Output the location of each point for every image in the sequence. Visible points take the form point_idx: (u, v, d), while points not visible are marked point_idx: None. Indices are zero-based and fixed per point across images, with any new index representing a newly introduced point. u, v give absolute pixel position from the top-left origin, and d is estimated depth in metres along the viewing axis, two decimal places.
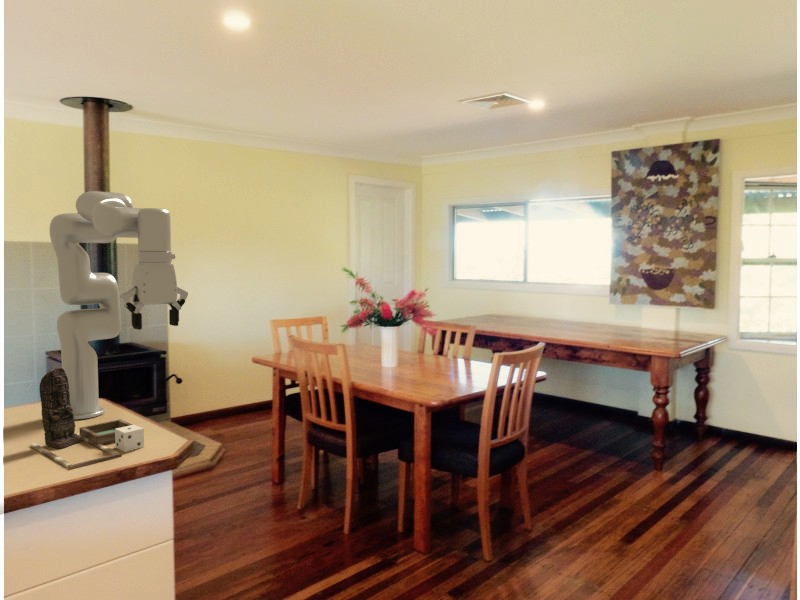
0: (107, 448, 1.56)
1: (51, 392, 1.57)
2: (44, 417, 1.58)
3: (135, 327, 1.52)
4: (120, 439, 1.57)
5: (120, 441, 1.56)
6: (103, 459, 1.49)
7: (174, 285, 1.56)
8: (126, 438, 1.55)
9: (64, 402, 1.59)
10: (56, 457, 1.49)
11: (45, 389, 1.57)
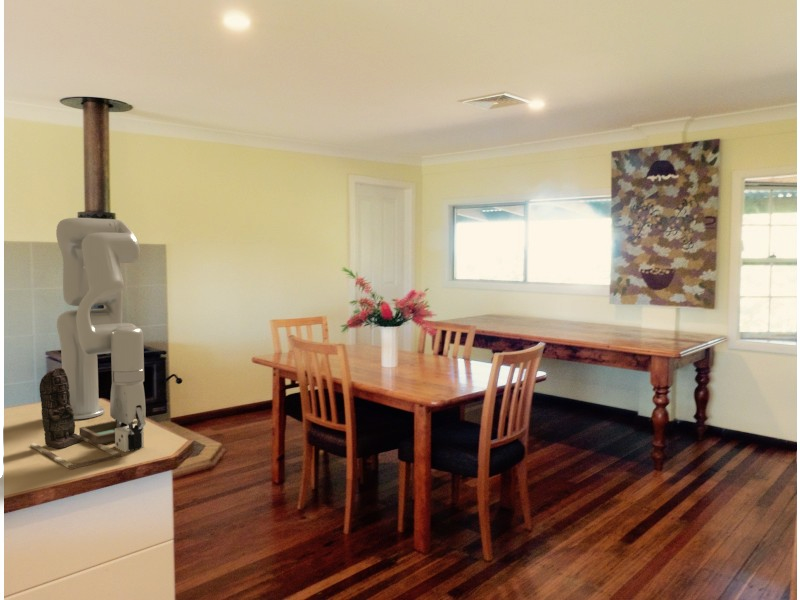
0: (107, 448, 1.56)
1: (51, 392, 1.57)
2: (44, 417, 1.58)
3: (134, 447, 1.56)
4: (120, 439, 1.57)
5: (120, 441, 1.56)
6: (103, 459, 1.49)
7: None
8: (125, 438, 1.55)
9: (64, 402, 1.59)
10: (56, 457, 1.49)
11: (45, 389, 1.57)
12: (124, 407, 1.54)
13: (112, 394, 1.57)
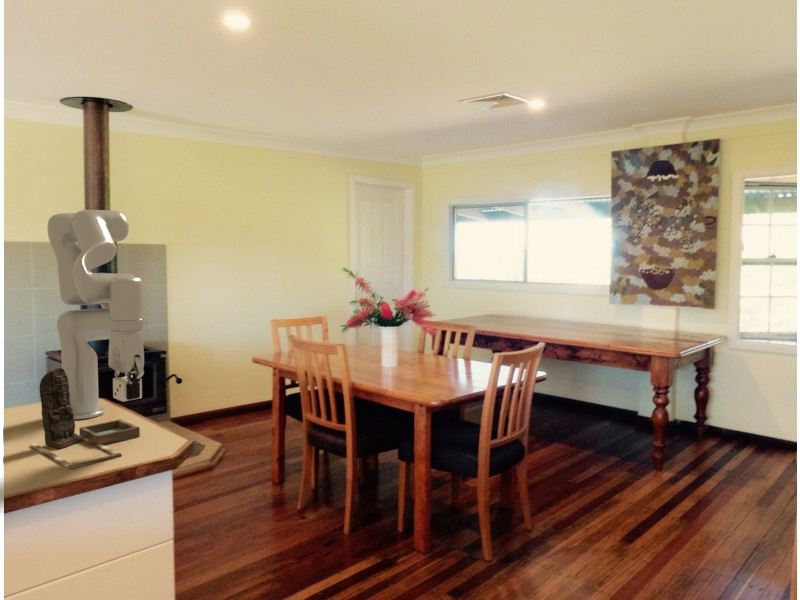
0: (107, 448, 1.56)
1: (51, 392, 1.57)
2: (44, 417, 1.58)
3: (132, 397, 1.56)
4: (118, 389, 1.56)
5: (118, 390, 1.56)
6: (103, 459, 1.49)
7: None
8: (124, 387, 1.55)
9: (64, 402, 1.59)
10: (56, 457, 1.49)
11: (45, 389, 1.57)
12: (122, 356, 1.53)
13: (110, 343, 1.56)
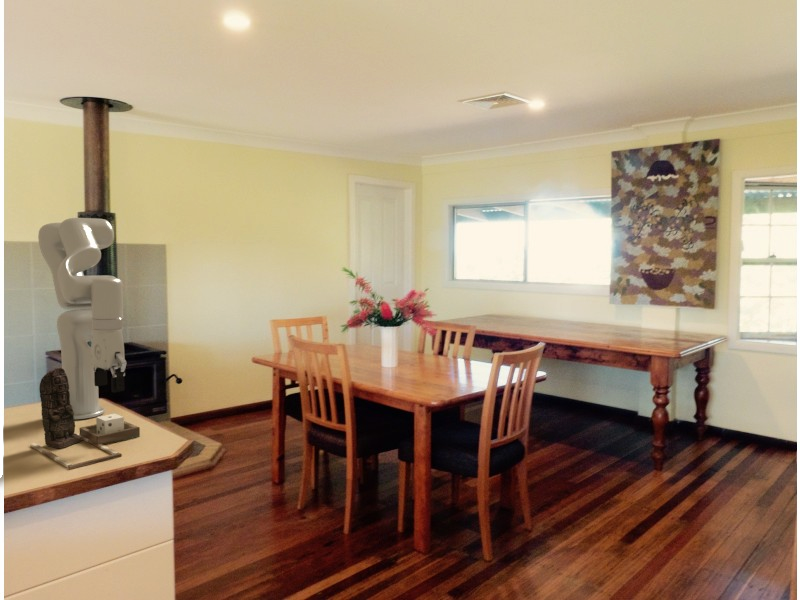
0: (107, 448, 1.56)
1: (51, 392, 1.57)
2: (44, 417, 1.58)
3: (117, 390, 1.62)
4: (101, 427, 1.64)
5: (101, 429, 1.64)
6: (103, 459, 1.49)
7: None
8: (106, 426, 1.63)
9: (64, 402, 1.59)
10: (56, 457, 1.49)
11: (45, 389, 1.57)
12: (103, 353, 1.60)
13: (92, 342, 1.64)
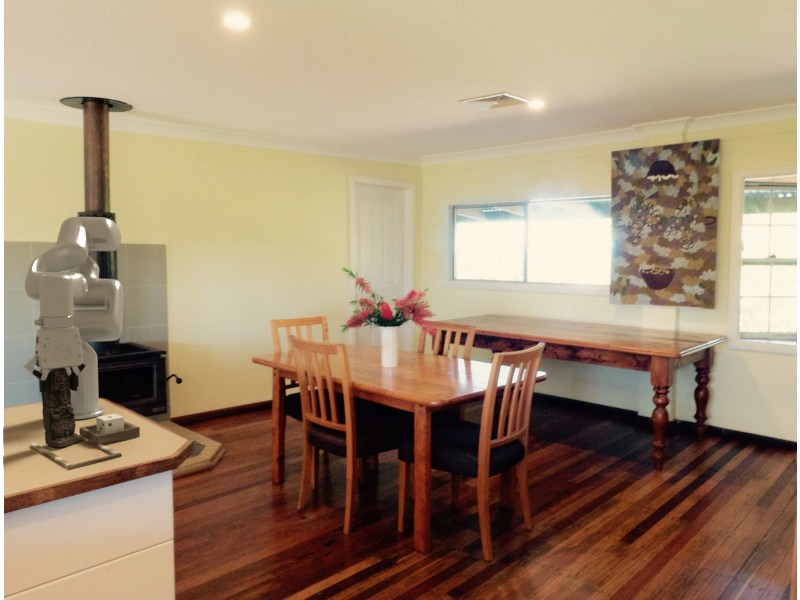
0: (107, 448, 1.56)
1: (53, 391, 1.57)
2: (45, 416, 1.58)
3: None
4: (101, 427, 1.64)
5: (101, 429, 1.64)
6: (103, 459, 1.49)
7: None
8: (106, 426, 1.63)
9: (65, 401, 1.59)
10: (56, 457, 1.49)
11: None
12: (76, 349, 1.59)
13: (49, 343, 1.54)
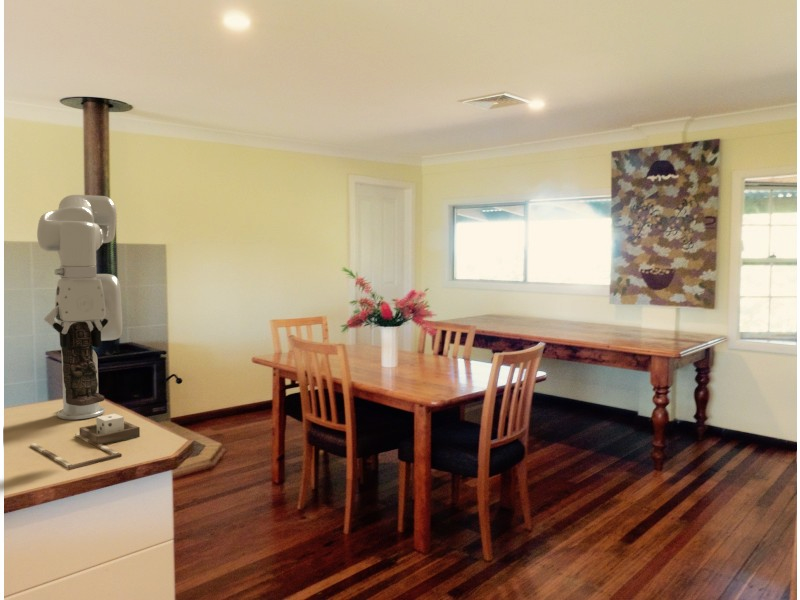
0: (107, 448, 1.56)
1: (74, 346, 1.48)
2: (65, 373, 1.48)
3: None
4: (101, 427, 1.64)
5: (101, 429, 1.64)
6: (103, 459, 1.49)
7: None
8: (106, 426, 1.63)
9: (87, 358, 1.49)
10: (56, 457, 1.49)
11: None
12: (98, 302, 1.49)
13: (71, 294, 1.44)
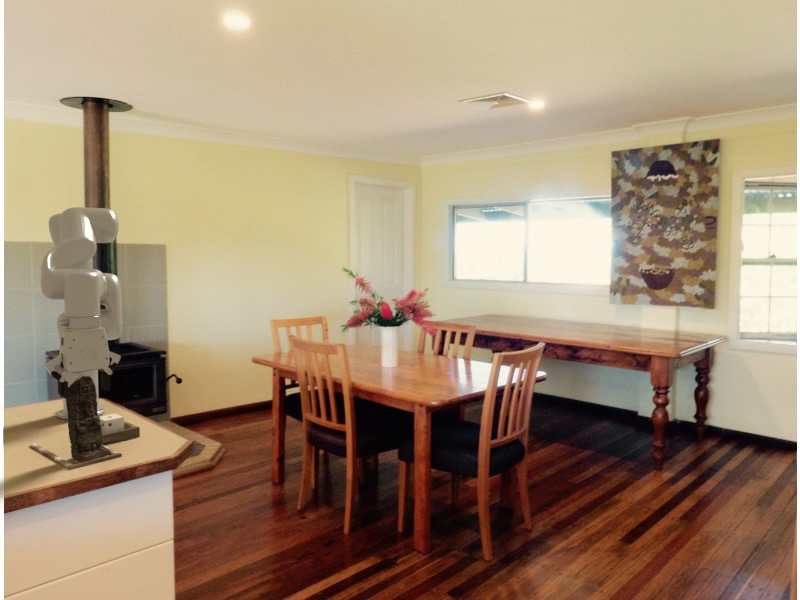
0: None
1: (78, 402, 1.48)
2: (70, 428, 1.49)
3: None
4: (101, 427, 1.64)
5: (101, 429, 1.64)
6: (103, 459, 1.49)
7: None
8: (106, 426, 1.63)
9: (91, 412, 1.50)
10: (56, 457, 1.49)
11: (72, 399, 1.48)
12: (102, 351, 1.49)
13: (75, 345, 1.44)
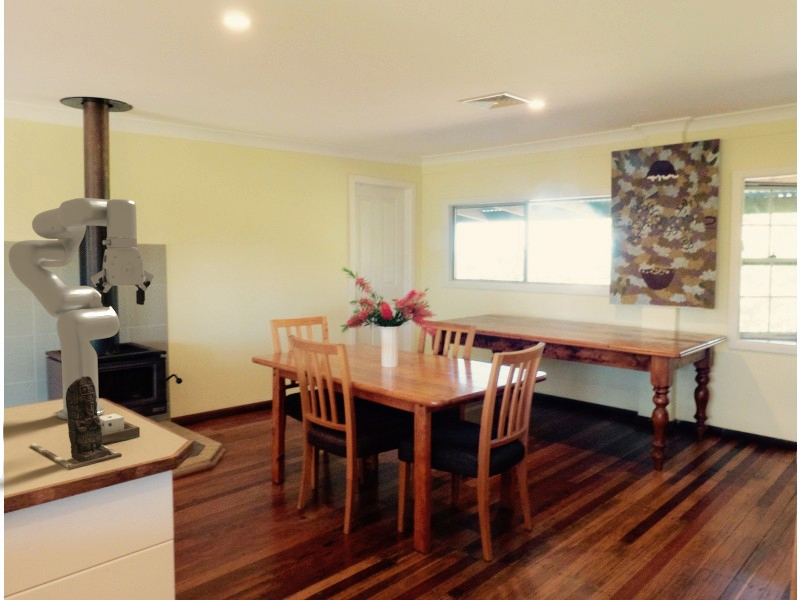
0: None
1: (78, 402, 1.48)
2: (70, 428, 1.49)
3: None
4: (101, 427, 1.64)
5: (101, 429, 1.64)
6: (103, 459, 1.49)
7: None
8: (106, 426, 1.63)
9: (91, 413, 1.50)
10: (56, 457, 1.49)
11: (72, 399, 1.48)
12: (138, 269, 1.74)
13: (116, 262, 1.69)
